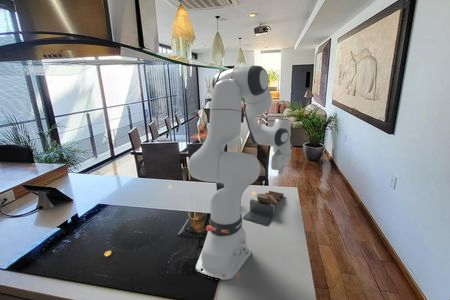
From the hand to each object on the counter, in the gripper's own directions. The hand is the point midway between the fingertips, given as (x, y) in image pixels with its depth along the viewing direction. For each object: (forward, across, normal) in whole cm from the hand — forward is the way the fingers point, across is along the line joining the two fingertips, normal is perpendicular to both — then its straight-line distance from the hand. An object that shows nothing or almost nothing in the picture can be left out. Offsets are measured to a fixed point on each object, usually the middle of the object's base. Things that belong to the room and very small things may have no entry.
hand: (281, 172), depth 131 cm
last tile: (+13, -20, 0) cm, 23 cm away
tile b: (+12, -6, 0) cm, 14 cm away
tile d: (+13, -16, 0) cm, 20 cm away
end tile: (+12, -2, 0) cm, 12 cm away
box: (+14, -22, +23) cm, 34 cm away
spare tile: (+12, -11, 0) cm, 17 cm away
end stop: (+13, -28, 0) cm, 31 cm away
